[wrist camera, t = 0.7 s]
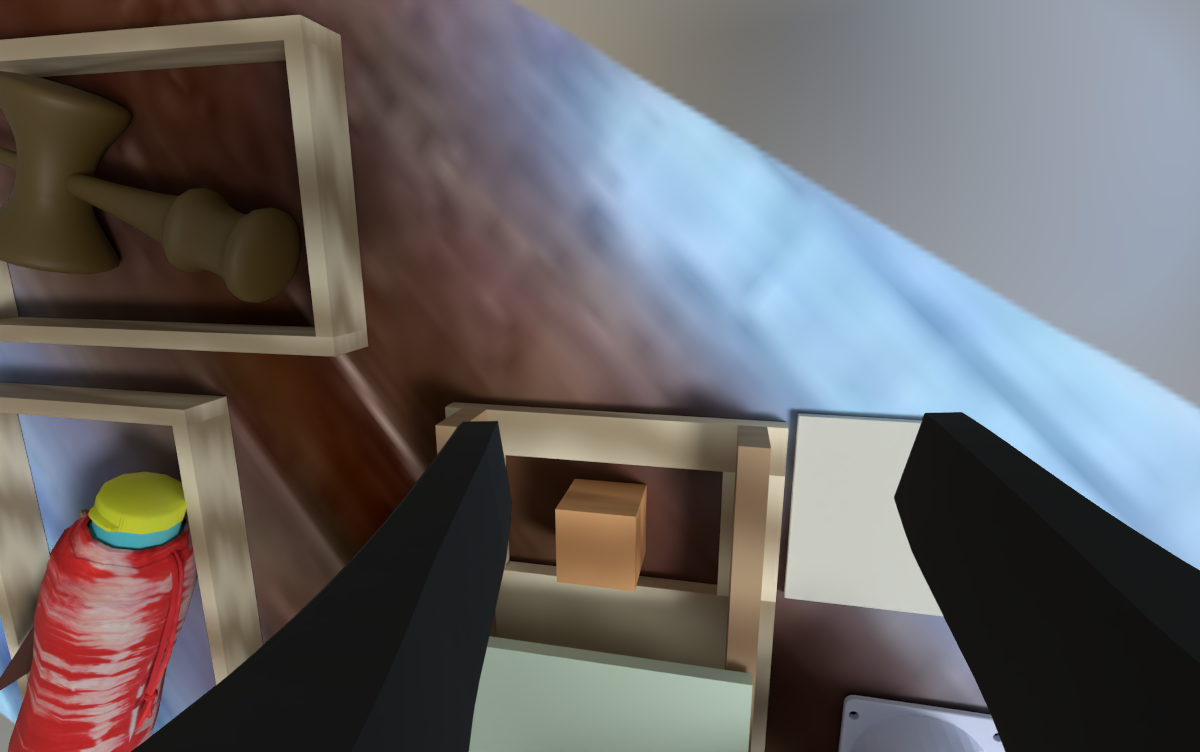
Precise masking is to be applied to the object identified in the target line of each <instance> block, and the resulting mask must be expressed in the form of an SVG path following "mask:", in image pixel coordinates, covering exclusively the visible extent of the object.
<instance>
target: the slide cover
mask: <svg viewBox="0 0 1200 752" xmlns="http://www.w3.org/2000/svg"><path fill="white" fill-rule="evenodd" d="M752 687H753V683H752V674H751V673H744V672H737V671H730V670H723V669H716V668H709V667H702V666H695V665H688V664H680V663H673V662H666V661H659V660H652V659H645V658H638V657H631V656H624V655H617V654H610V653H603V652H596V651H589V650H582V649H575V648H568V647H561V646H554V645H547V644H540V643H533V642H526V641H519V640H512V639H505V638H498V637H491V636H489V641H488V645H487V650H486V654H485V659H484V663H483V668H482V672H481V677H480V681H479V686H478V692H477V697H476V703H475V709H474V715H473V723H472V731H471V738H470V746H469V752H748V747H749V732H750V717H751V702H752Z"/></svg>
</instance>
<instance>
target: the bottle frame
mask: <svg viewBox="0 0 1200 752" xmlns="http://www.w3.org/2000/svg"><path fill="white" fill-rule="evenodd" d="M17 414H25V415H38V416H51V417H64V418H77V419H91V420H104V421H117V422H130V423H143V424H156V425H169V426H172V427H173V432H174V438H175V444H176V450H177V456H178V462H179V468H180V474H181V480H182V486H183V491H184V497H185V502H186V505H187V507H186V509H187V515H188V521H189V527H190V533H191V539H192V545H193V550H194V556H195V562H196V568H197V574H198V580H199V586H200V592H201V598H202V603H203V609H204V615H205V621H206V627H207V633H208V639H209V645H210V651H211V657H212V662H213V668H214V674H215V680H216V685H217V684H218V683H220V682H221V681H222V680H223V679H224V678H226V677H227V676H228V675H229V674H230V673H232V672H233V671H234V670H235V669H236V668H237V667H239V666H240V665H241V664H242V663H243V662H244V661H246V660H247V659H248V658H249V657H250V656H251V655H253V654H254V653H255V652H256V651H257V650H258V649H259V648H260V647H262V646H263V642H262V636H261V629H260V622H259V615H258V608H257V601H256V595H255V588H254V581H253V574H252V567H251V561H250V554H249V547H248V540H247V533H246V526H245V520H244V513H243V506H242V499H241V492H240V485H239V479H238V472H237V465H236V458H235V451H234V444H233V438H232V431H231V424H230V417H229V410H228V404H227V397H226V396H211V395H195V394H179V393H164V392H148V391H132V390H116V389H100V388H84V387H68V386H53V385H37V384H21V383H5V382H0V616H1V620H2V624H3V628H4V632H5V636H6V640H7V643H8V647H9V651H10V655H11V659H13V657H14V656H15V654H16V652H17V651H18V649H19V648H20V646H21V645H22V643H23V641H24V640H25V638H26V637H27V635H28V634H29V632H30V631H31V629H32V627H33V626H34V616H35V612H36V607H37V602H38V597H39V592H40V587H41V583H42V580H43V577H44V575H45V572H46V570H47V563H48V561H49V559H50V554H49V550H48V545H47V541H46V536H45V532H44V528H43V523H42V519H41V515H40V510H39V506H38V502H37V497H36V493H35V489H34V484H33V480H32V476H31V471H30V467H29V462H28V458H27V454H26V449H25V445H24V441H23V436H22V432H21V428H20V423H19V419H18V415H17ZM30 671H31V670H30ZM29 676H30V672H29V673H27V674H26V675H24V676H23V677H21V678H19V679H18V680H17V682H18V686H19V690H20V694H21V698H22V702H23V699H24V696H25V693H26V690H27V688H26V687H27V682H28V679H29Z"/></svg>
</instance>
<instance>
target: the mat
mask: <svg viewBox="0 0 1200 752" xmlns="http://www.w3.org/2000/svg"><path fill="white" fill-rule="evenodd" d="M921 422H922V420H907V419H890V418H872V417H855V416H837V415H820V414H802V413H798V418H797V431H796V444H795V457H794V470H793V482H792V495H791V508H790V521H789V534H788V547H787V560H786V573H785V586H784V596H785V598H791V599H799V600H808V601H816V602H825V603H834V604H842V605H851V606H859V607H868V608H876V609H885V610H894V611H902V612H911V613H919V614H928V615H937V616H943V614H942V612H941V610H940V608H939V606H938V604H937V602H936V600H935V598H934V596H933V594H932V592H931V590H930V588H929V586H928V584H927V582H926V580H925V578H924V576H923V574H922V572H921V570H920V568H919V566H918V564H917V562H916V559H915V557H914V555H913V553H912V551H911V548H910V545H909V542H908V539H907V537H906V534H905V531H904V528H903V525H902V522H901V519H900V516H899V513H898V510H897V506H896V503H895V500H894V495H895V493H896V490H897V487H898V485H899V482H900V479H901V476H902V474H903V471H904V468H905V466H906V463H907V460H908V457H909V455H910V452H911V449H912V447H913V444H914V441H915V438H916V436H917V433H918V430H919V427H920V425H921Z"/></svg>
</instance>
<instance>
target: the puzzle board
mask: <svg viewBox="0 0 1200 752" xmlns="http://www.w3.org/2000/svg"><path fill="white" fill-rule="evenodd" d="M445 414H446V419H444V420H443V421H441V422H440V423H438V424H437V425H435V427H436V442H437V454H438V453H439V452H440V450H441V449H442V448H443V446H444V445H445V443H446V442H447V441H448V439H449V438H450V436H451V435H452V434H453V432H454V431H455V429H456V428H457V427H458V426H459V425H460V424H461V423H462V422H467V421H498V424H499V430H500V435H501V441H502V447H503V453H504V459H505V465H506V455H514V456H527V457H539V458H552V459H565V460H578V461H591V462H604V463H617V464H630V465H643V466H656V467H668V468H681V469H694V470H707V471H720V472H723V482H722V503H721V523H720V543H719V564H718V584H717V585H715V584H706V583H697V582H689V581H680V580H671V579H662V578H654V577H645V576H639V577H638V581H637V585H636V588H635V591H627V590H619V589H610V588H602V587H594V586H585V585H577V584H569V583H560V582H557V574H556V566H549V565H541V564H532V563H523V562H514V561H510V559H509V541H508V550H507V558H506V563H505V568H504V573H503V577H502V582H501V586H500V591H499V596H498V600H497V605H496V609H495V614H494V618H493V623H492V627H491V632H490V636H491V637H498V638H505V639H512V640H519V641H526V642H533V643H540V644H547V645H554V646H561V647H568V648H575V649H582V650H589V651H596V652H603V653H610V654H617V655H624V656H631V657H638V658H645V659H652V660H659V661H666V662H673V663H680V664H688V665H695V666H702V667H709V668H716V669H723V670H730V671H737V672H744V673H751V674H752V683H753V687H752V702H751V717H750V732H749V747H748V752H764V751H765V738H766V724H767V711H768V698H769V684H770V671H771V657H772V644H773V630H774V617H775V603H776V590H777V576H778V563H779V549H780V536H781V523H782V509H783V496H784V482H785V469H786V455H787V442H788V425H787V422H774V421H758V420H741V419H724V418H708V417H691V416H674V415H658V414H641V413H624V412H608V411H591V410H574V409H558V408H541V407H524V406H508V405H491V404H474V403H458V402H453V403H451V404H449V405H448V406H446V407H445Z"/></svg>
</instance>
